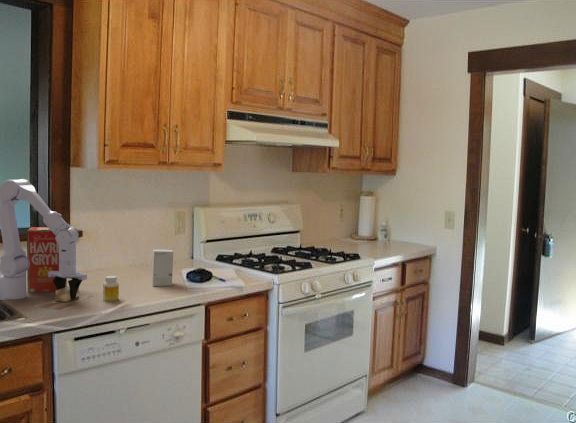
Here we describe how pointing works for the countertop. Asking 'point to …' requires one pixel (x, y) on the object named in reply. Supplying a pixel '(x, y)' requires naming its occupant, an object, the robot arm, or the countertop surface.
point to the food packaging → (42, 259)
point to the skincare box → (162, 267)
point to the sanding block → (64, 295)
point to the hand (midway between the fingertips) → (67, 297)
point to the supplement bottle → (110, 289)
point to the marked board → (60, 305)
